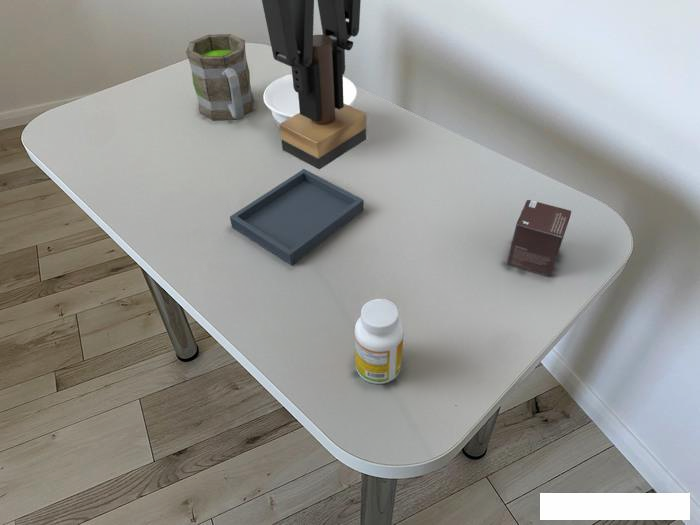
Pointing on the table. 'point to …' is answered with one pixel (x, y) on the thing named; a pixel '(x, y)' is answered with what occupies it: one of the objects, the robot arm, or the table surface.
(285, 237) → the tray
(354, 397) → the table surface
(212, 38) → the mug
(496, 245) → the table surface
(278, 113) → the bowl
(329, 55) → the peg on wooden base
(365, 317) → the supplement bottle
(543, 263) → the box
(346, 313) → the table surface
